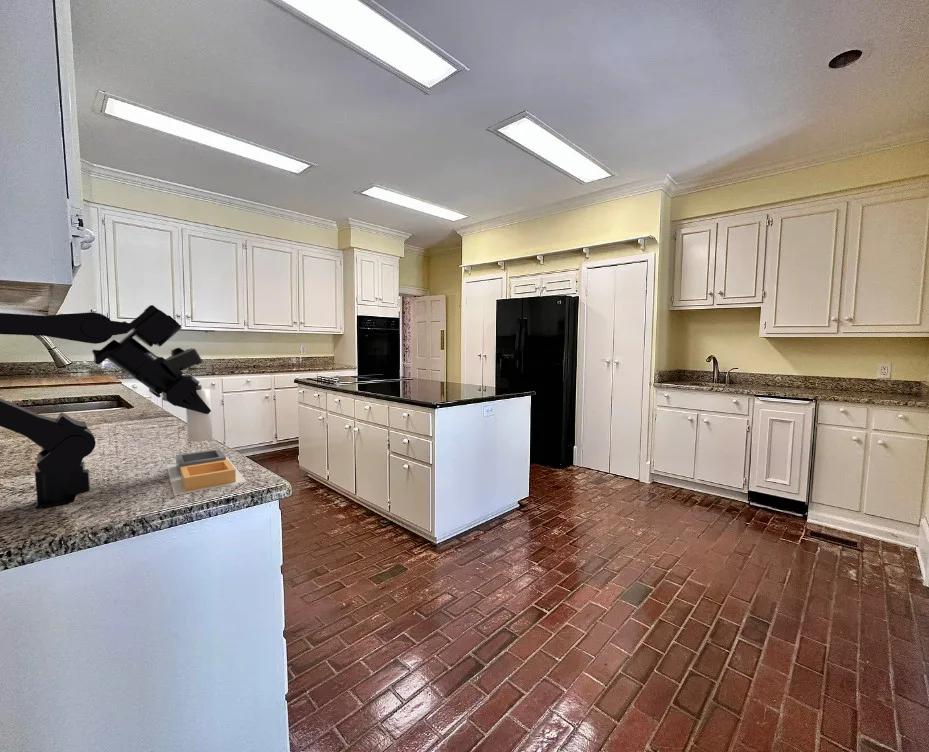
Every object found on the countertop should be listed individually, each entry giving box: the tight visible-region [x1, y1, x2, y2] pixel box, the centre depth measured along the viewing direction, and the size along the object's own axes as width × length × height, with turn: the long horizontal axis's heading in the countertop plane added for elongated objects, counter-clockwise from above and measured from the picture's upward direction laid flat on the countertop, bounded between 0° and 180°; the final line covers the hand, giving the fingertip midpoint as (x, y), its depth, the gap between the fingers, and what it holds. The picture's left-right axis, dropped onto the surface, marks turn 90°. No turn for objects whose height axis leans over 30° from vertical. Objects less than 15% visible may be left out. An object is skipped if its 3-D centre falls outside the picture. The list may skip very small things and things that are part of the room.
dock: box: [166, 448, 247, 496], centre depth 88 cm, size 12×22×4 cm, turn 39°
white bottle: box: [185, 384, 213, 442], centre depth 91 cm, size 5×5×12 cm
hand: (206, 411), depth 92 cm, fingers closed on white bottle, 5 cm apart
